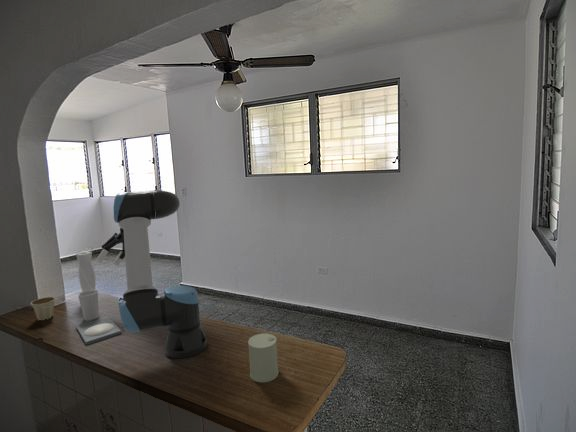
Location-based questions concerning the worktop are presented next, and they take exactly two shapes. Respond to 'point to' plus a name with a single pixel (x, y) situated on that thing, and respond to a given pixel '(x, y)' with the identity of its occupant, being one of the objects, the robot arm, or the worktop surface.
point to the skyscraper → (86, 271)
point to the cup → (89, 304)
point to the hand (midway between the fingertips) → (106, 263)
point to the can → (263, 357)
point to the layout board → (98, 330)
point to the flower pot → (43, 307)
